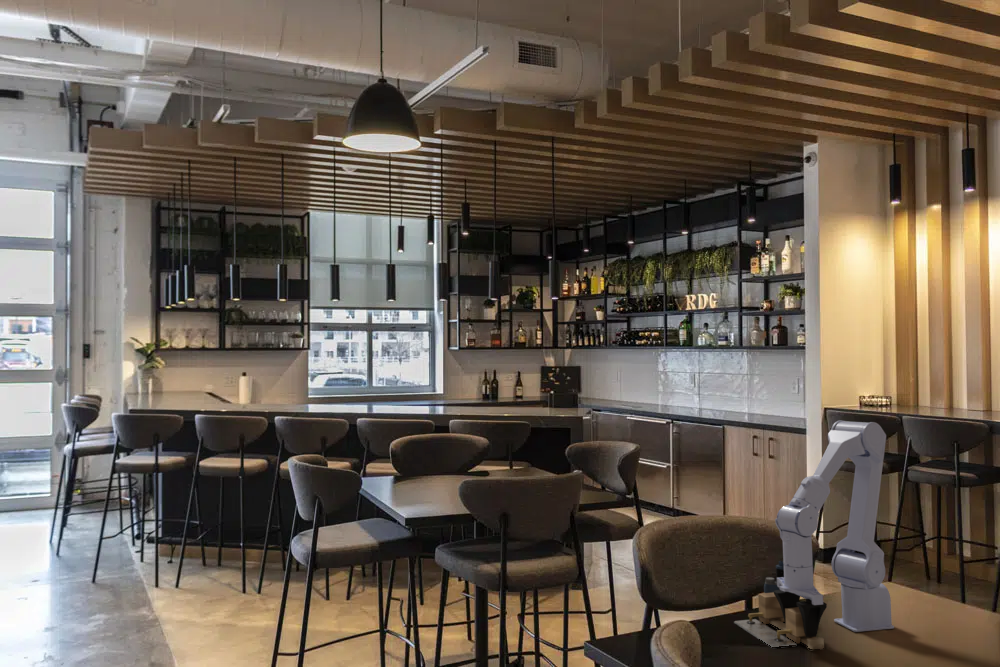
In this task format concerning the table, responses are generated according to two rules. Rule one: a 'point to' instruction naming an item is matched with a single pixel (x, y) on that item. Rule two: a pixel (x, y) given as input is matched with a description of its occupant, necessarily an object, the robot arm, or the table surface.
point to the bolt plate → (764, 633)
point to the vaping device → (770, 582)
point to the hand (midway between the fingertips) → (800, 630)
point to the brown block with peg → (793, 625)
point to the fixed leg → (768, 608)
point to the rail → (810, 642)
